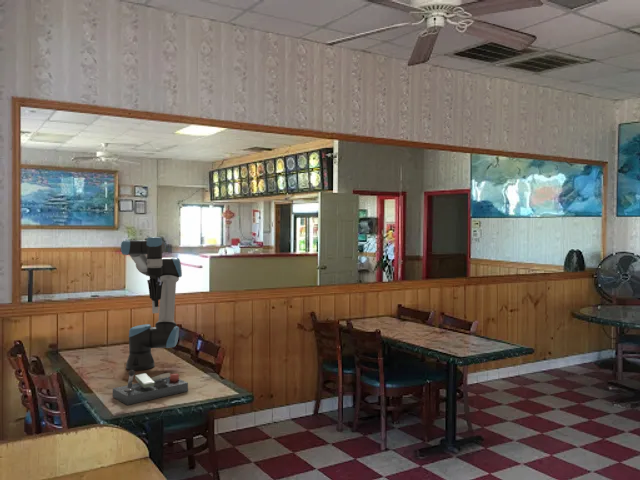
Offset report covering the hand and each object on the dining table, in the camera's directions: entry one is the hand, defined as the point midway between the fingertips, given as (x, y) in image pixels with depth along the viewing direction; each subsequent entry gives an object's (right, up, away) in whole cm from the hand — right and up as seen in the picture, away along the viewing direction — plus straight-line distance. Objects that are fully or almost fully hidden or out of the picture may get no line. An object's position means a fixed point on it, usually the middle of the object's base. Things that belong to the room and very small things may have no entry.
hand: (155, 312), depth 286 cm
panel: (+5, -35, -23) cm, 42 cm away
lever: (-3, -30, -30) cm, 43 cm away
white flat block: (+2, -28, -25) cm, 38 cm away
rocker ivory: (+8, -28, -20) cm, 35 cm away
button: (+14, -31, -15) cm, 37 cm away
